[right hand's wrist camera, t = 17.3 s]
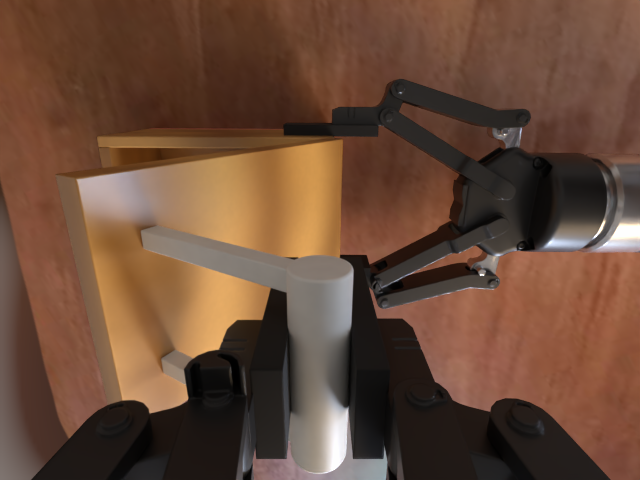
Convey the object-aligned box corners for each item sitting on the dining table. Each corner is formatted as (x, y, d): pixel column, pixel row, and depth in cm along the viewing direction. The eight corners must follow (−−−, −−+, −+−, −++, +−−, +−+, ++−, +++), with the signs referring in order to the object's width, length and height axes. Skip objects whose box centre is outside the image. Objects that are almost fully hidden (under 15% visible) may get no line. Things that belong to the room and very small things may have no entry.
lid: (113, 430, 15) (306, 570, 10) (54, 173, 11) (302, 219, 7) (325, 278, 28) (450, 311, 23) (327, 137, 24) (473, 146, 20)
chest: (167, 236, 36) (121, 275, 28) (152, 128, 33) (95, 135, 25) (328, 236, 36) (332, 276, 28) (330, 129, 33) (334, 137, 25)
